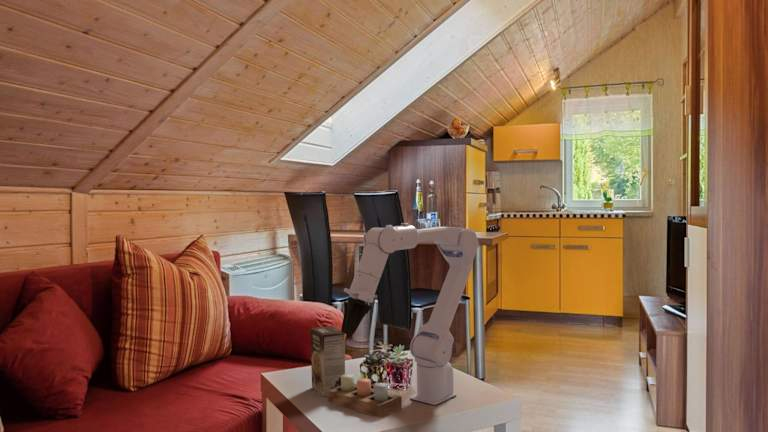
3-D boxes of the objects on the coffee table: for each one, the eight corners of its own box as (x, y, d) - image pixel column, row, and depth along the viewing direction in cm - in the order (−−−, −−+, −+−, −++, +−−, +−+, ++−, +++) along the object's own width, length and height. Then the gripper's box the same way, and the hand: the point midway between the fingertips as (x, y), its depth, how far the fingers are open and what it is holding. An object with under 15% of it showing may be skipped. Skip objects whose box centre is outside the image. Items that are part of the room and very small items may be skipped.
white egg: (380, 398, 142) (380, 381, 142) (391, 401, 140) (390, 384, 140) (371, 402, 140) (370, 385, 140) (381, 405, 138) (381, 388, 137)
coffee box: (310, 387, 158) (309, 327, 157) (333, 383, 161) (331, 325, 160) (323, 397, 150) (322, 334, 149) (346, 393, 153) (345, 331, 152)
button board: (328, 401, 146) (328, 390, 146) (350, 393, 152) (350, 382, 152) (379, 417, 135) (379, 405, 135) (401, 408, 141) (401, 396, 141)
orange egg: (363, 393, 146) (363, 377, 146) (373, 396, 144) (373, 380, 144) (354, 397, 144) (354, 380, 143) (364, 400, 141) (364, 383, 141)
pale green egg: (347, 388, 150) (347, 373, 150) (357, 391, 148) (357, 375, 147) (338, 392, 147) (338, 376, 147) (347, 395, 145) (347, 379, 145)
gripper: (348, 274, 141) (328, 328, 138) (354, 266, 127) (332, 325, 124) (375, 284, 142) (356, 338, 138) (385, 277, 128) (363, 337, 124)
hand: (346, 333), depth 131 cm, fingers open, 7 cm apart
